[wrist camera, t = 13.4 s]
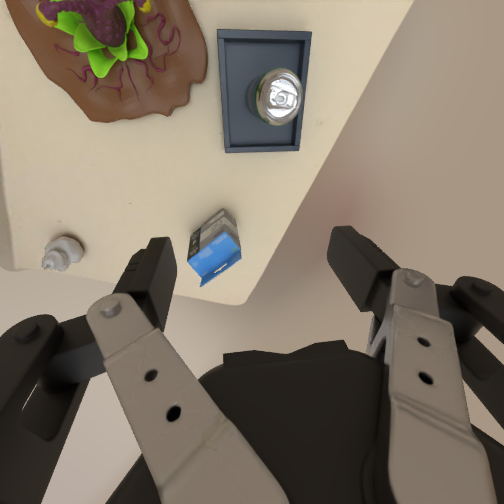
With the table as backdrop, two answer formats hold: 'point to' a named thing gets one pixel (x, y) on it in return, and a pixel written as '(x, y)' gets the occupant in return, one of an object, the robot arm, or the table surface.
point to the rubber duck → (61, 253)
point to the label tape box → (214, 247)
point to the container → (248, 68)
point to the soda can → (275, 96)
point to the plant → (116, 52)
